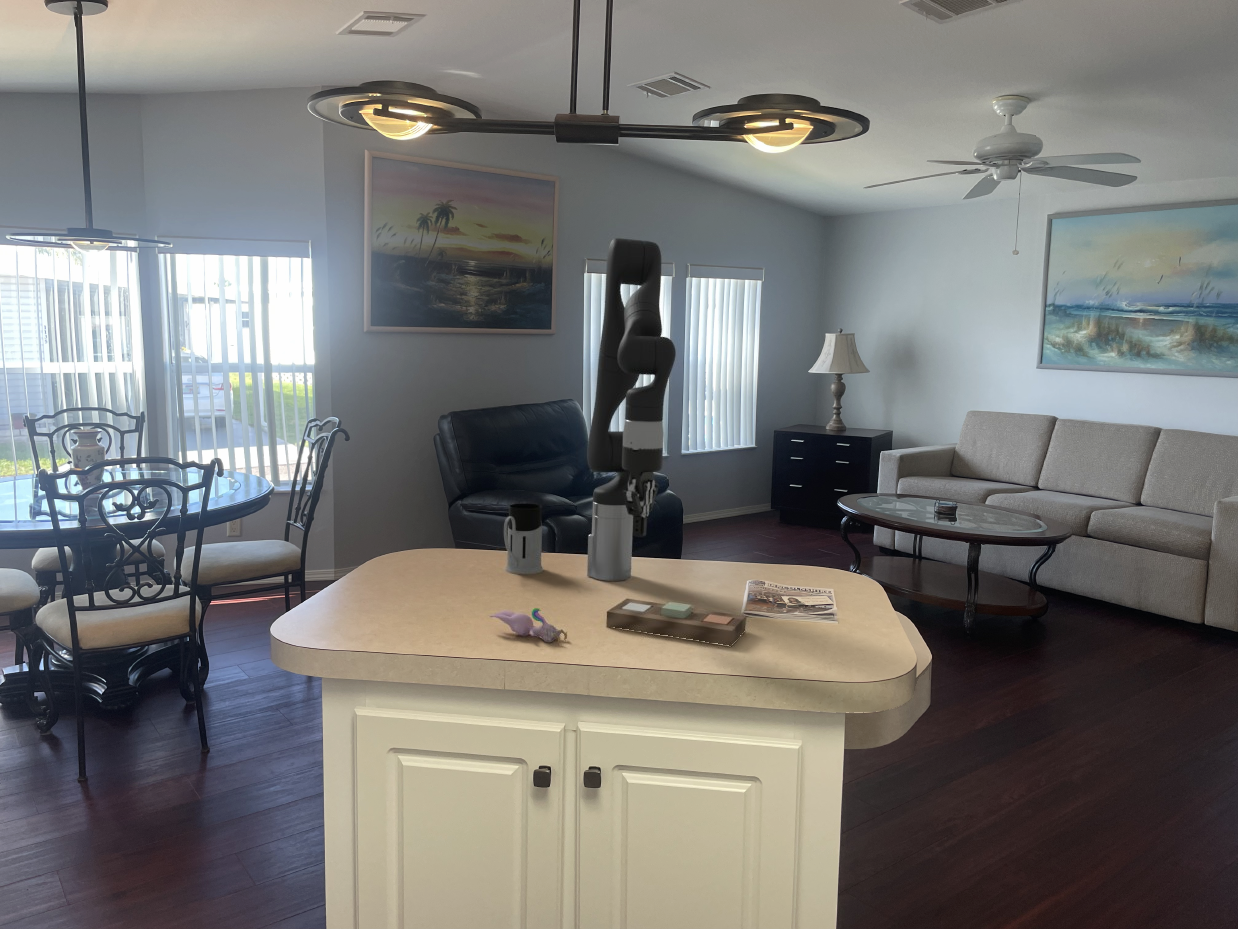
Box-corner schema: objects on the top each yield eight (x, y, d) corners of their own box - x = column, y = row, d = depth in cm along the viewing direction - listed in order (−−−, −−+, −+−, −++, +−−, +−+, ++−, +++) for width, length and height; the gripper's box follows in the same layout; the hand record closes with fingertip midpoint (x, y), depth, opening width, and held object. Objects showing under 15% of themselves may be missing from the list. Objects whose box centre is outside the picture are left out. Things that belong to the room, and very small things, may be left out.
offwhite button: (621, 622, 169) (621, 608, 169) (629, 616, 174) (630, 602, 173) (642, 626, 168) (643, 611, 167) (650, 619, 172) (651, 605, 172)
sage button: (661, 622, 166) (661, 607, 166) (668, 616, 170) (669, 601, 170) (683, 625, 165) (684, 611, 164) (691, 619, 169) (691, 605, 168)
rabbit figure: (569, 645, 161) (500, 619, 167) (575, 614, 160) (505, 589, 166) (552, 655, 155) (481, 628, 161) (558, 623, 154) (486, 597, 160)
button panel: (606, 627, 168) (606, 611, 167) (626, 613, 177) (626, 598, 176) (730, 647, 159) (731, 630, 158) (745, 631, 168) (746, 616, 167)
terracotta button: (702, 635, 163) (702, 620, 163) (709, 628, 168) (709, 614, 167) (725, 639, 162) (726, 624, 161) (731, 632, 166) (732, 617, 166)
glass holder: (549, 567, 211) (550, 505, 209) (521, 581, 198) (523, 514, 196) (516, 563, 214) (517, 501, 212) (486, 576, 201) (487, 510, 199)
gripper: (637, 440, 174) (633, 527, 176) (610, 446, 162) (607, 540, 164) (673, 443, 171) (669, 532, 173) (649, 449, 159) (645, 545, 161)
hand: (639, 535), depth 169 cm, fingers closed
